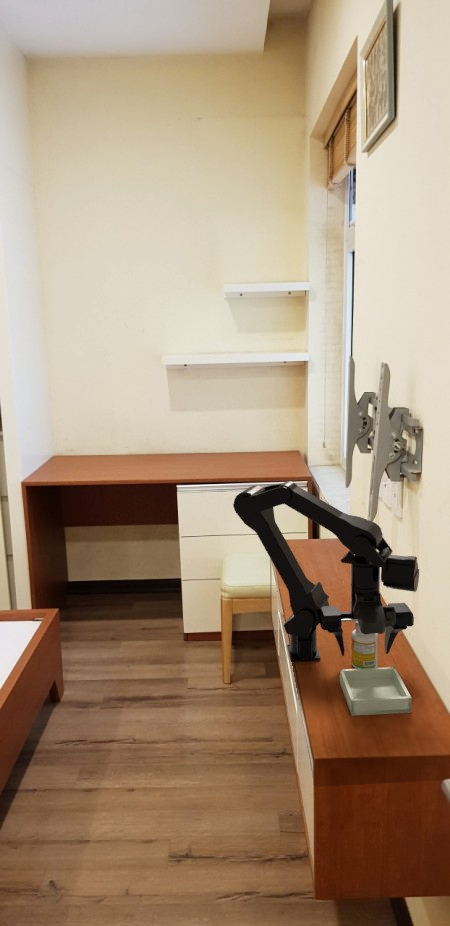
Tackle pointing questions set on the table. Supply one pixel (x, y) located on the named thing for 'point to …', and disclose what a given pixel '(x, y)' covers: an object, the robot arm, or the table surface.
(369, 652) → the supplement bottle
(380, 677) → the tray
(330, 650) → the table surface
